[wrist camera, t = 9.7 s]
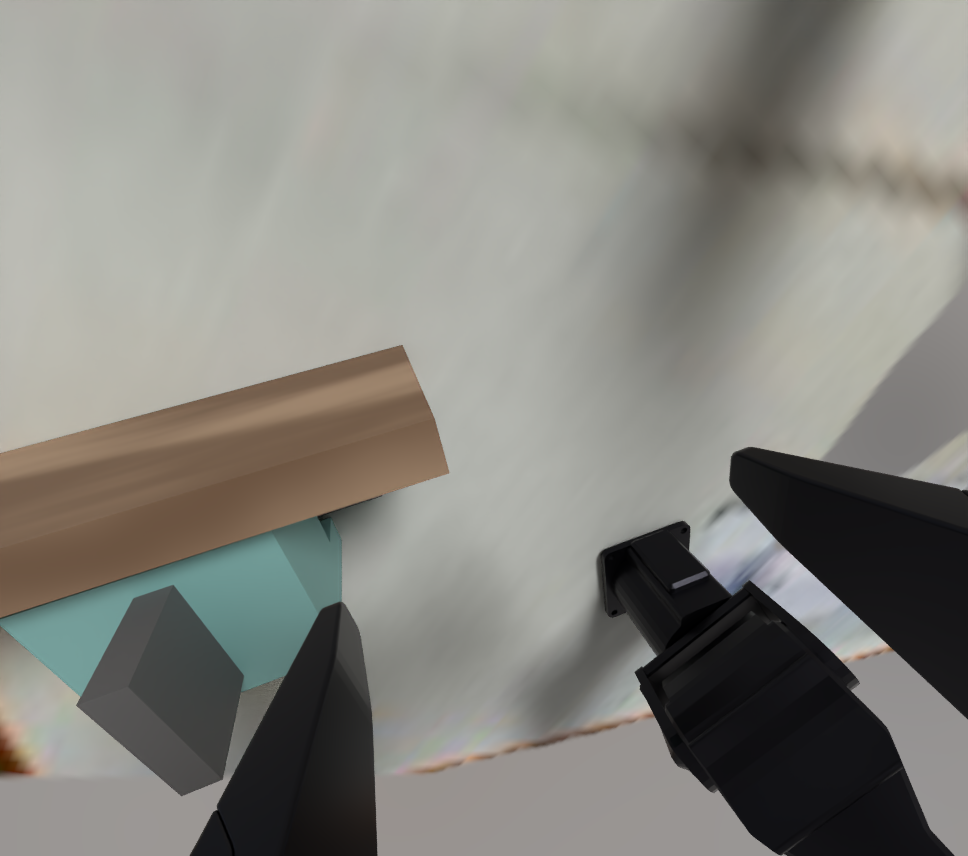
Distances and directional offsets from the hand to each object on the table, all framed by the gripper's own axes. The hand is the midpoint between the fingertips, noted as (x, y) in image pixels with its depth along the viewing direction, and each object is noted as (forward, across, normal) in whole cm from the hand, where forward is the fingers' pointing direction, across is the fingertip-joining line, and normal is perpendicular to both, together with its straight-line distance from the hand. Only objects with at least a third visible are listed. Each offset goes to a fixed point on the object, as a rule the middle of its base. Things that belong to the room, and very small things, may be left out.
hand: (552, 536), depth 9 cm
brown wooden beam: (+13, +12, +2) cm, 17 cm away
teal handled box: (+13, +12, +5) cm, 18 cm away
